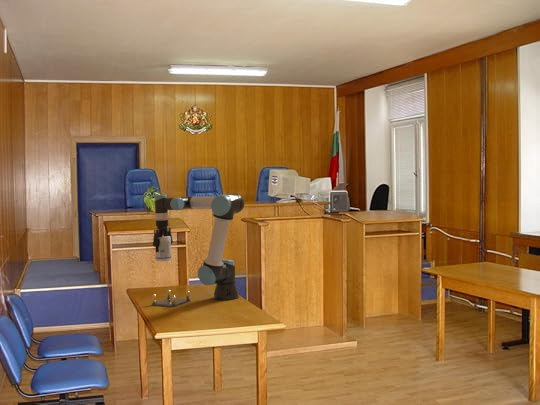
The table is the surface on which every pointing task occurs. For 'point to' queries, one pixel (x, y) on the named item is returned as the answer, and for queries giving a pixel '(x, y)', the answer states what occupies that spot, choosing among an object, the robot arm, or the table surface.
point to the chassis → (171, 300)
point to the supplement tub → (164, 248)
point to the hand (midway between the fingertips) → (163, 256)
